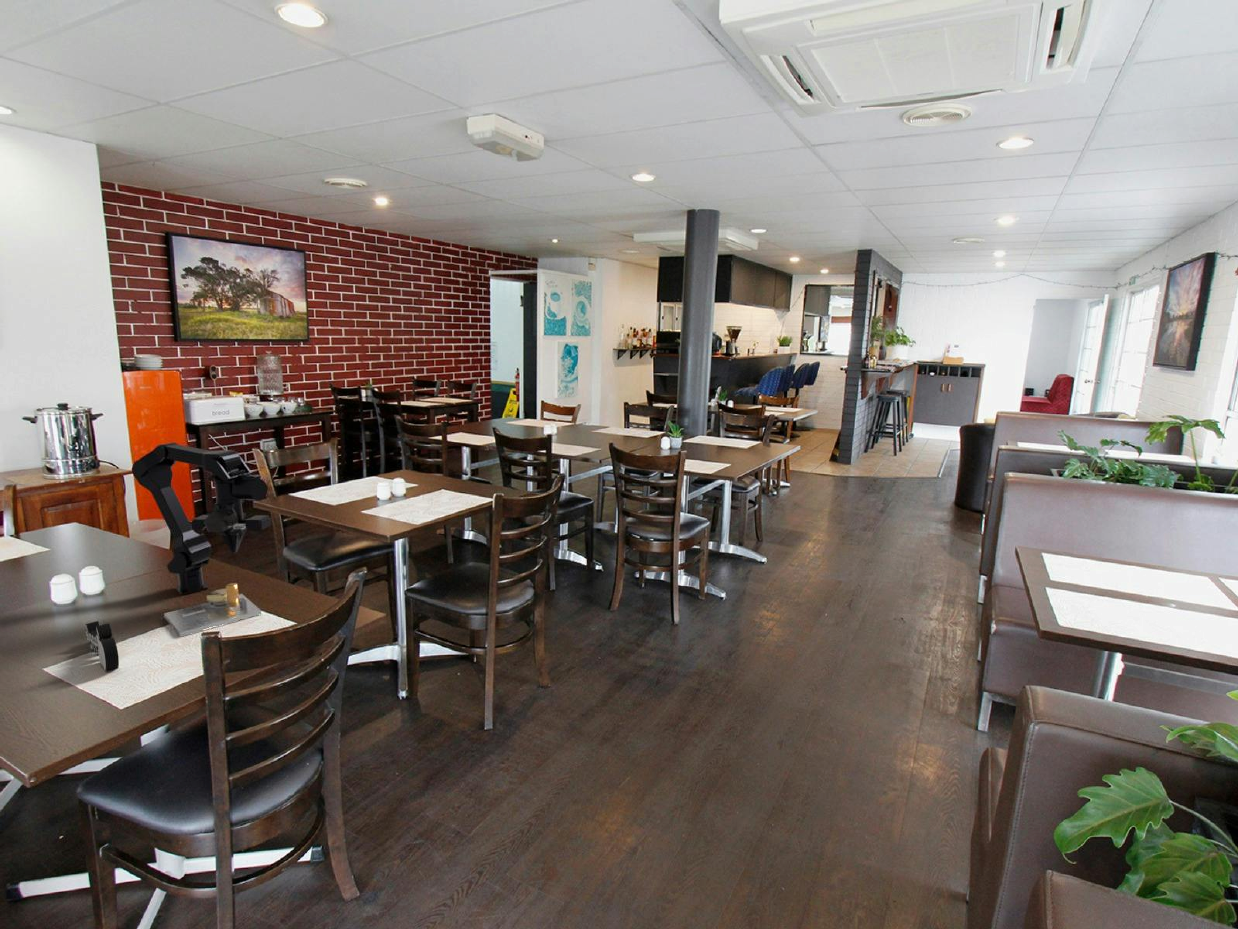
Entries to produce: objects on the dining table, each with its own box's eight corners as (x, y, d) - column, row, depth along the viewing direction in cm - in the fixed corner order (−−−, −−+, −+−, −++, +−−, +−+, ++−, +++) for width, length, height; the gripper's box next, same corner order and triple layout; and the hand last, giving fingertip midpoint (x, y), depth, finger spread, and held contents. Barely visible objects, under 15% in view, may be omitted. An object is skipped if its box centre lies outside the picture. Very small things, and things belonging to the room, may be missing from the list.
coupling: (203, 598, 168) (200, 577, 167) (229, 590, 173) (227, 570, 172) (222, 611, 161) (219, 590, 160) (249, 603, 166) (247, 582, 164)
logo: (121, 670, 138) (112, 625, 137) (108, 674, 136) (99, 628, 135) (102, 656, 152) (95, 615, 152) (90, 659, 151) (82, 618, 150)
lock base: (164, 617, 164) (162, 604, 163) (242, 597, 177) (241, 585, 176) (180, 637, 154) (178, 623, 153) (261, 614, 167) (260, 601, 166)
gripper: (174, 505, 165) (181, 562, 168) (247, 505, 165) (253, 563, 168) (200, 494, 176) (206, 548, 179) (269, 495, 176) (274, 549, 179)
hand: (234, 552), depth 176 cm, fingers closed
